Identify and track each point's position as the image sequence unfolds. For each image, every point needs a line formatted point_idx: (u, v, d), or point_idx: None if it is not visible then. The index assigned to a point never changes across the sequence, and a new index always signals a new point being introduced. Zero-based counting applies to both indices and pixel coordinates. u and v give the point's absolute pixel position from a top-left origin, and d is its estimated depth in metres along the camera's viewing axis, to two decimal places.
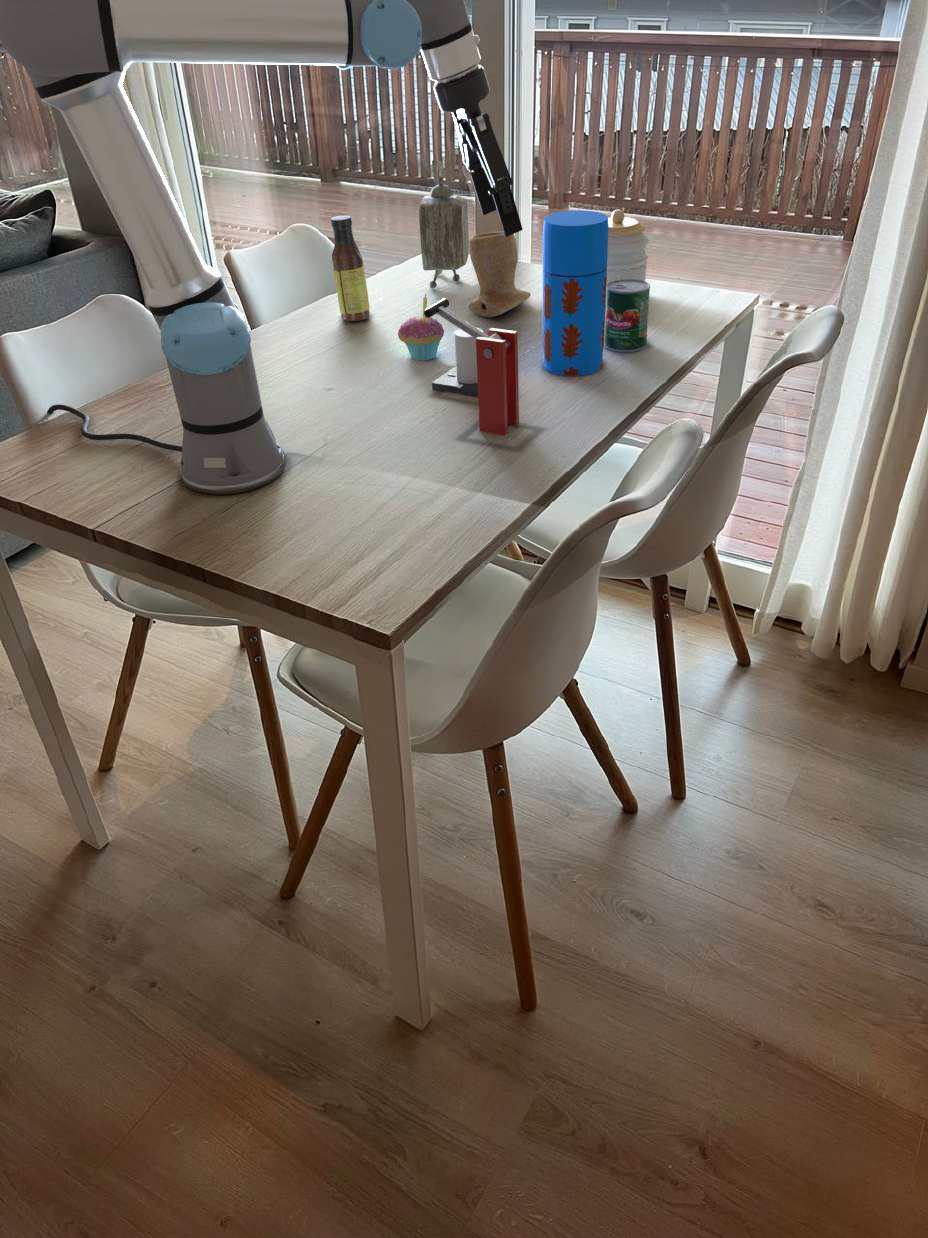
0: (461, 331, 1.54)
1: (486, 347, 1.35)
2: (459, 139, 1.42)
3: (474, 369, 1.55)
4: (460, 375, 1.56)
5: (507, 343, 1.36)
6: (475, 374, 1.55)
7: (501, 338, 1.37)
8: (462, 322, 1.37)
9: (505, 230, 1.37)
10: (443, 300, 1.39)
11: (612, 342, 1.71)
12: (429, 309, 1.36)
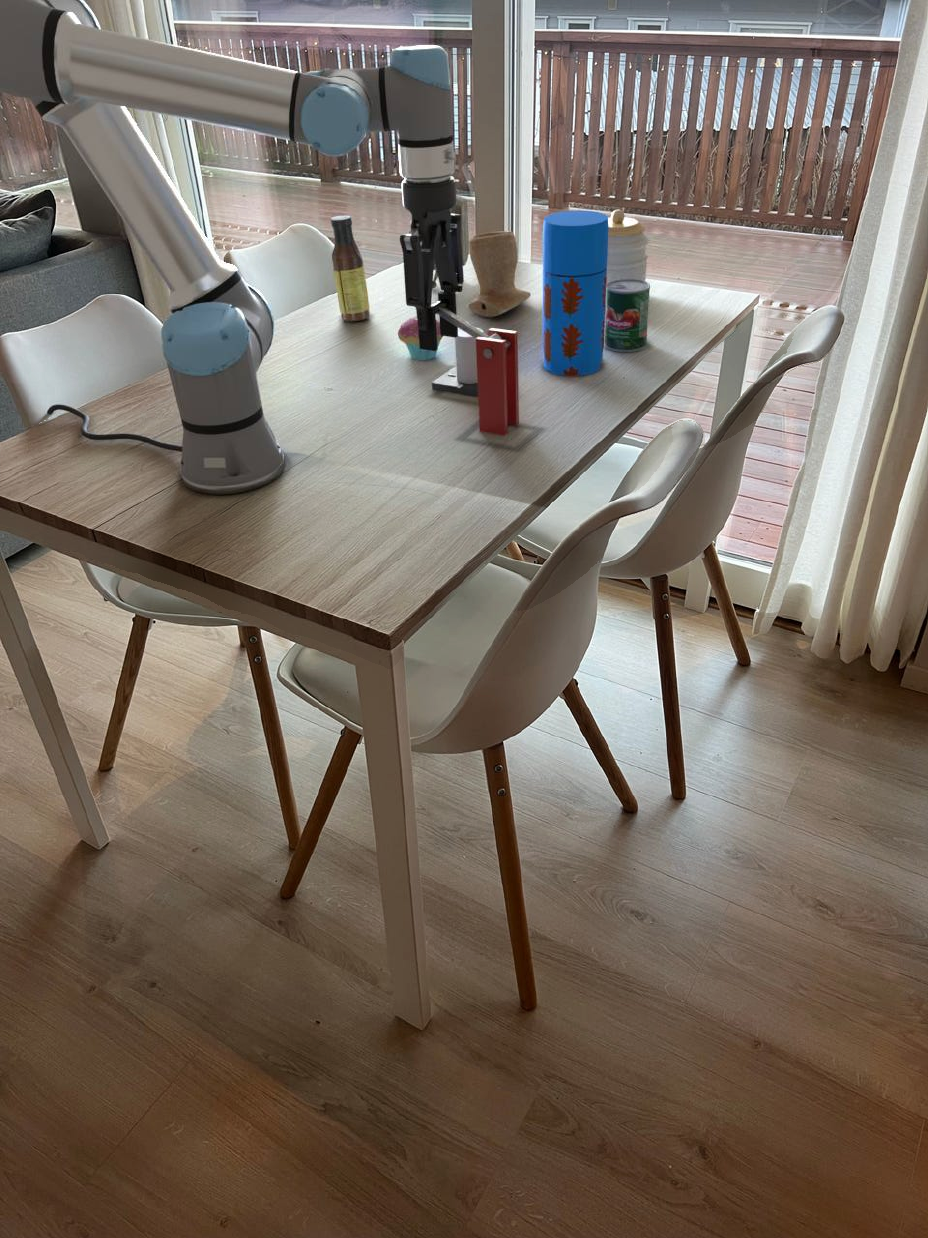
0: (461, 331, 1.54)
1: (486, 347, 1.35)
2: None
3: (474, 369, 1.55)
4: (460, 375, 1.56)
5: (507, 343, 1.36)
6: (475, 374, 1.55)
7: (501, 338, 1.37)
8: (462, 322, 1.37)
9: (420, 343, 1.39)
10: (443, 300, 1.39)
11: (612, 342, 1.71)
12: None
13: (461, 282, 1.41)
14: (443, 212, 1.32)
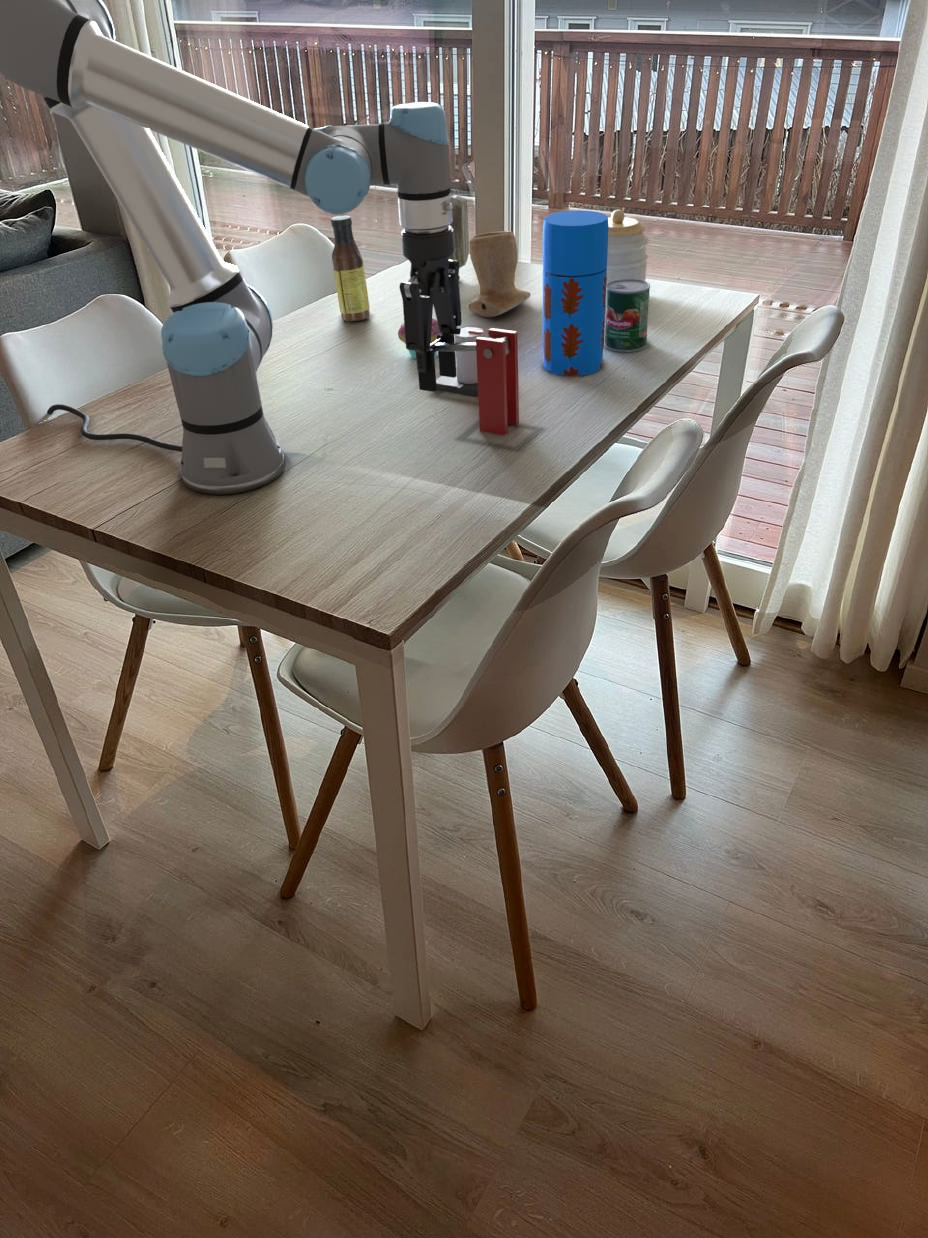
0: (461, 331, 1.54)
1: (486, 347, 1.35)
2: None
3: (474, 369, 1.55)
4: (460, 375, 1.56)
5: (503, 338, 1.36)
6: (475, 374, 1.55)
7: (497, 337, 1.37)
8: (458, 344, 1.40)
9: (420, 384, 1.43)
10: (438, 339, 1.43)
11: (612, 342, 1.71)
12: None
13: (459, 324, 1.45)
14: (441, 259, 1.36)
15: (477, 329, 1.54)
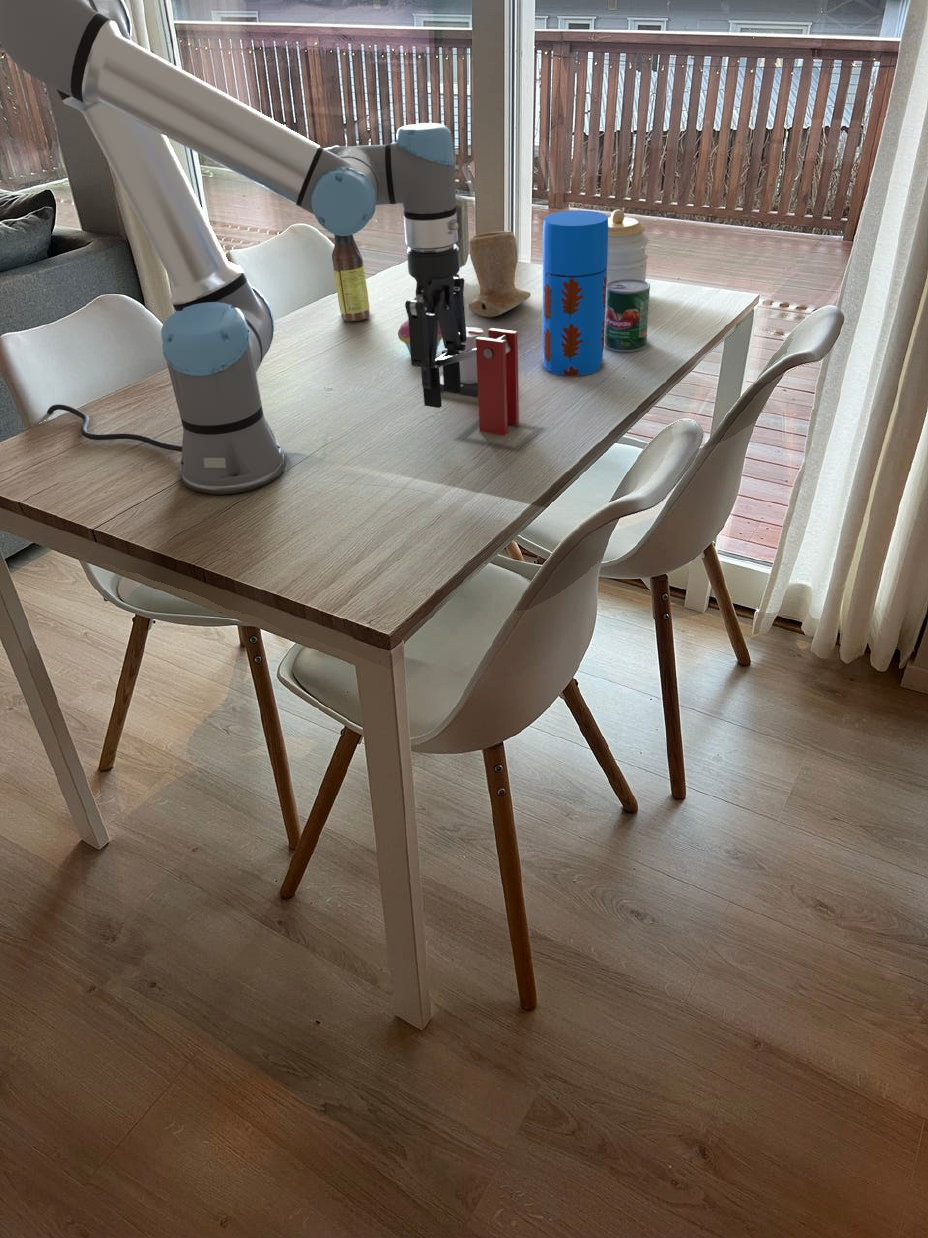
0: None
1: (486, 347, 1.35)
2: None
3: (474, 369, 1.55)
4: (460, 375, 1.56)
5: (501, 336, 1.36)
6: (475, 374, 1.55)
7: (496, 337, 1.37)
8: (460, 353, 1.40)
9: (424, 400, 1.44)
10: (442, 355, 1.45)
11: (612, 342, 1.71)
12: None
13: (464, 341, 1.46)
14: (447, 277, 1.37)
15: (477, 329, 1.54)
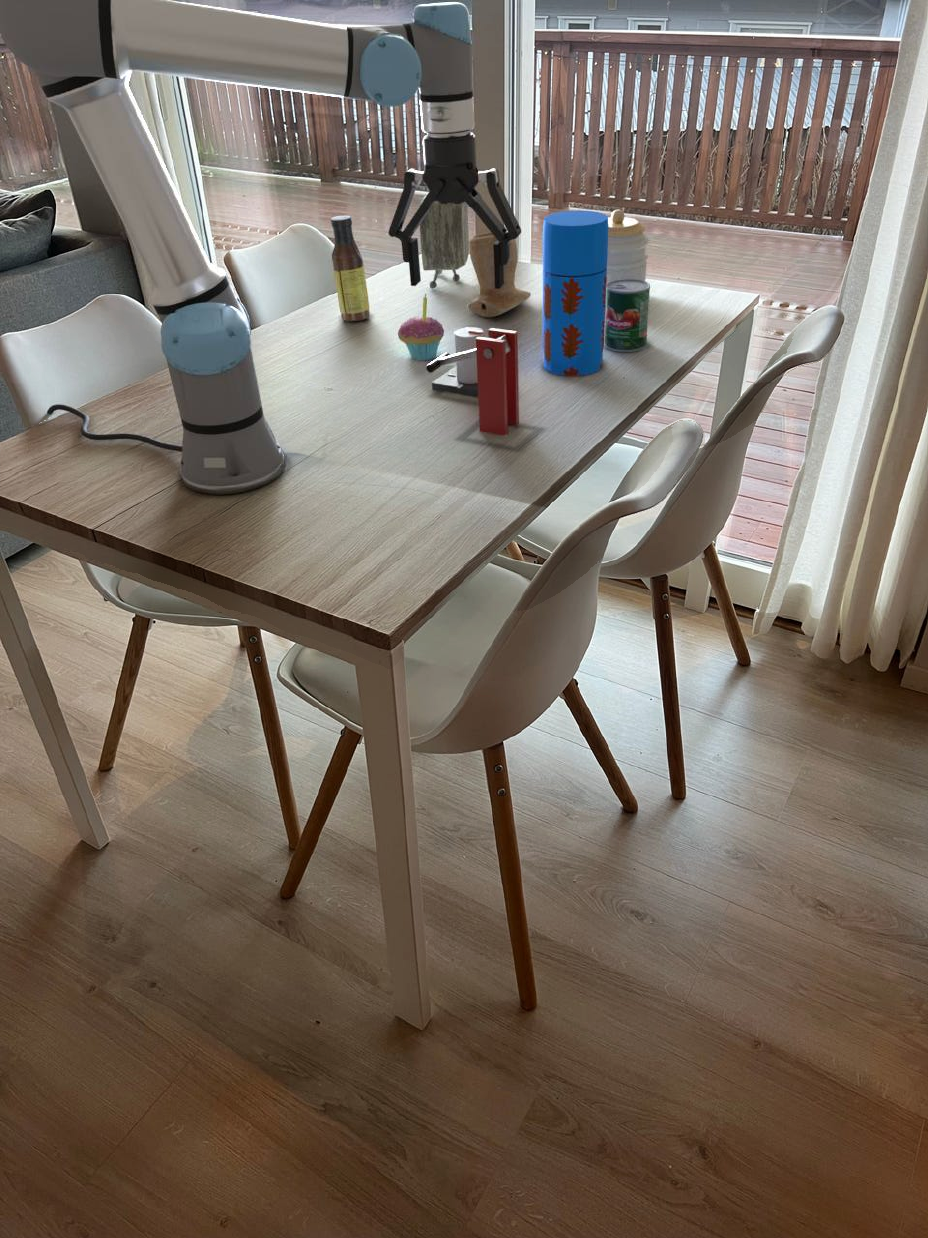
0: (461, 331, 1.54)
1: (486, 347, 1.35)
2: None
3: (474, 369, 1.55)
4: (460, 375, 1.56)
5: (501, 336, 1.36)
6: (475, 374, 1.55)
7: (496, 337, 1.37)
8: (460, 353, 1.40)
9: None
10: (442, 355, 1.45)
11: (612, 342, 1.71)
12: (428, 364, 1.42)
13: (513, 237, 1.37)
14: (458, 176, 1.34)
15: (477, 329, 1.54)
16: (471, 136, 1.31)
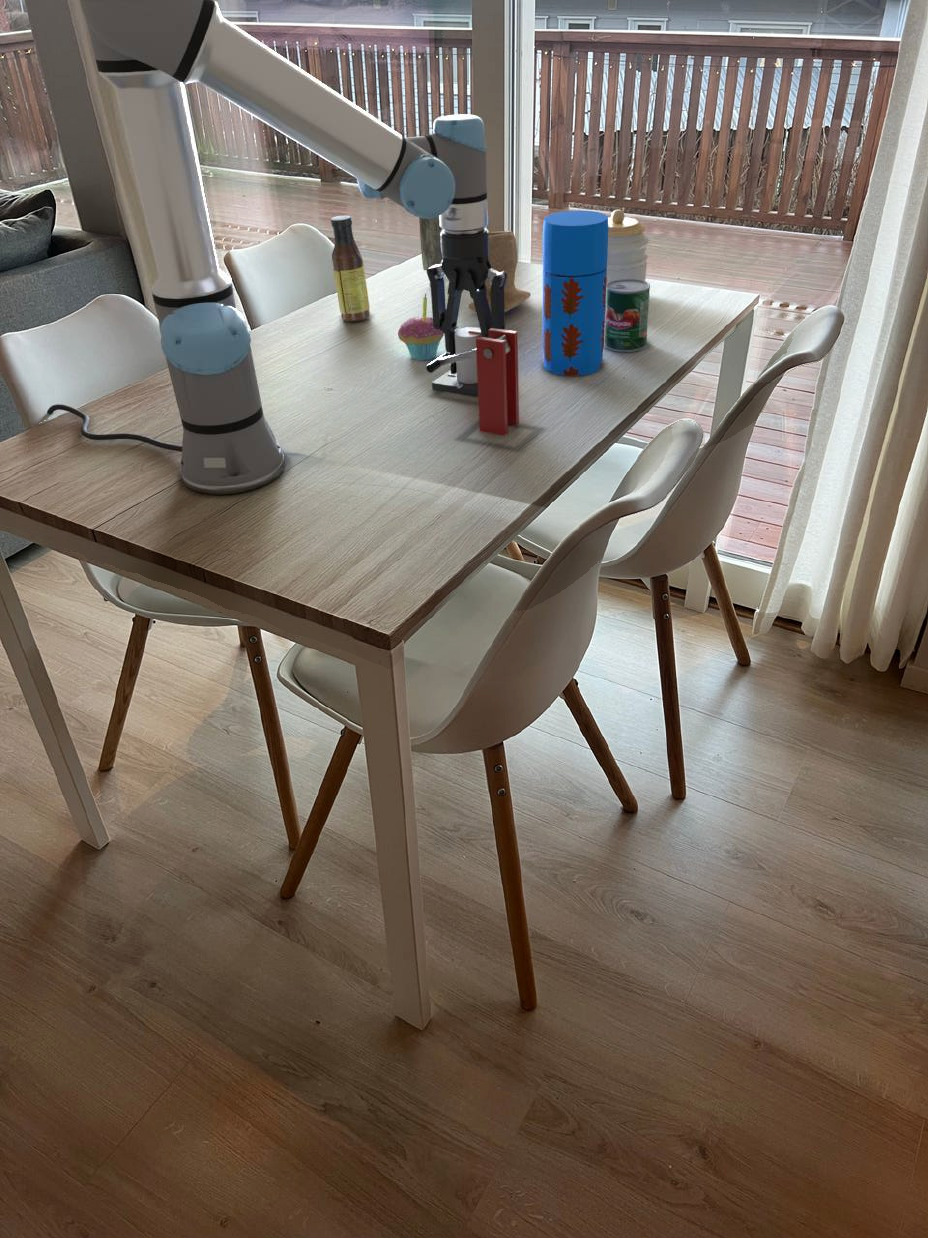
0: (461, 331, 1.54)
1: (486, 347, 1.35)
2: None
3: (474, 369, 1.55)
4: (460, 375, 1.56)
5: (501, 336, 1.36)
6: (475, 374, 1.55)
7: (496, 337, 1.37)
8: (460, 353, 1.40)
9: None
10: (442, 355, 1.45)
11: (612, 342, 1.71)
12: (428, 364, 1.42)
13: None
14: (472, 263, 1.45)
15: (477, 329, 1.54)
16: (482, 233, 1.42)
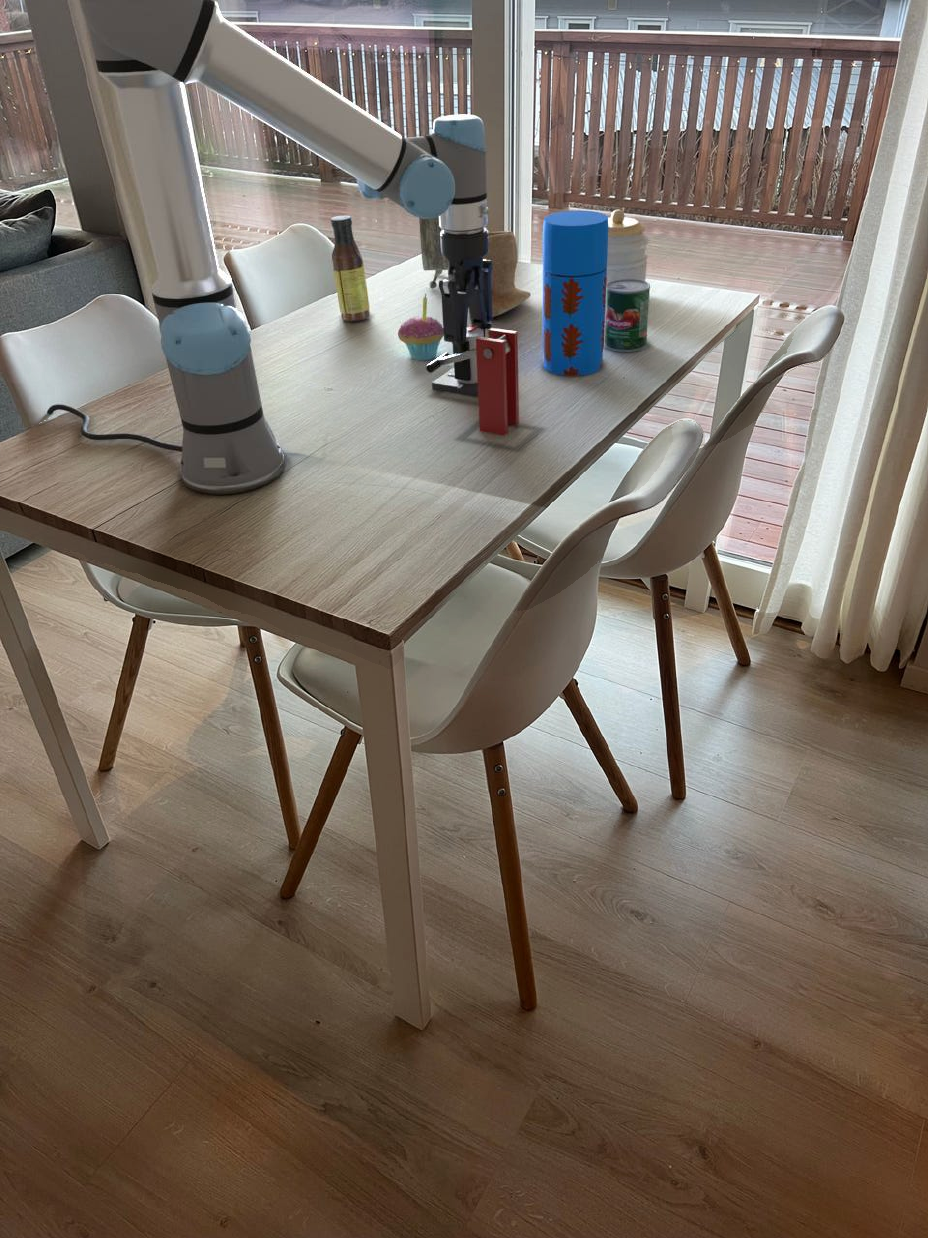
0: (466, 334, 1.52)
1: (486, 347, 1.35)
2: None
3: None
4: None
5: (501, 336, 1.36)
6: None
7: (496, 337, 1.37)
8: (460, 353, 1.40)
9: (455, 373, 1.55)
10: (442, 355, 1.45)
11: (612, 342, 1.71)
12: (428, 364, 1.42)
13: (490, 320, 1.56)
14: None
15: None
16: None
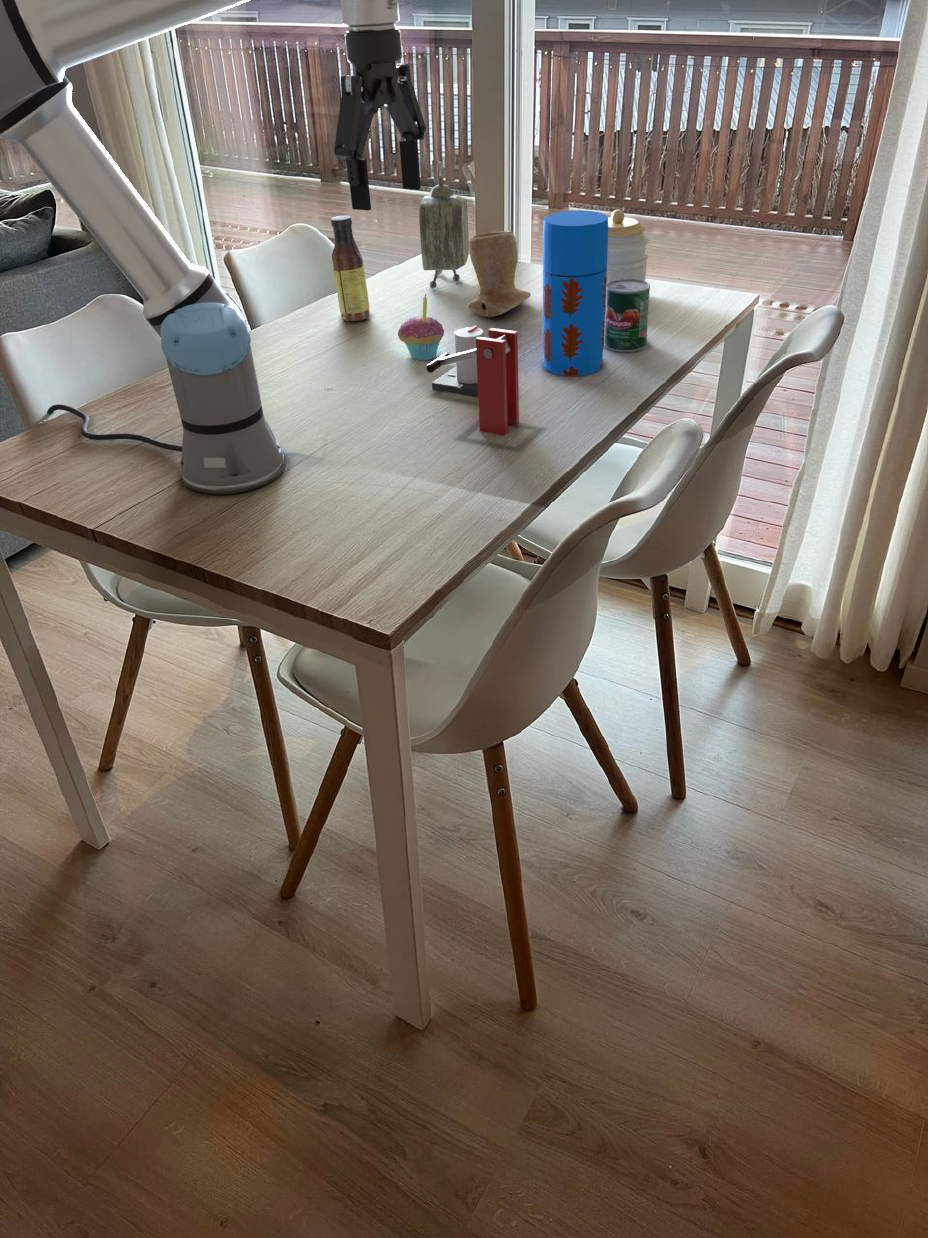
0: (466, 334, 1.52)
1: (486, 347, 1.35)
2: None
3: None
4: None
5: (501, 336, 1.36)
6: None
7: (496, 337, 1.37)
8: (460, 353, 1.40)
9: (352, 202, 1.31)
10: (442, 355, 1.45)
11: (612, 342, 1.71)
12: (428, 364, 1.42)
13: (424, 131, 1.38)
14: (388, 73, 1.27)
15: (462, 329, 1.54)
16: None
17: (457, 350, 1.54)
